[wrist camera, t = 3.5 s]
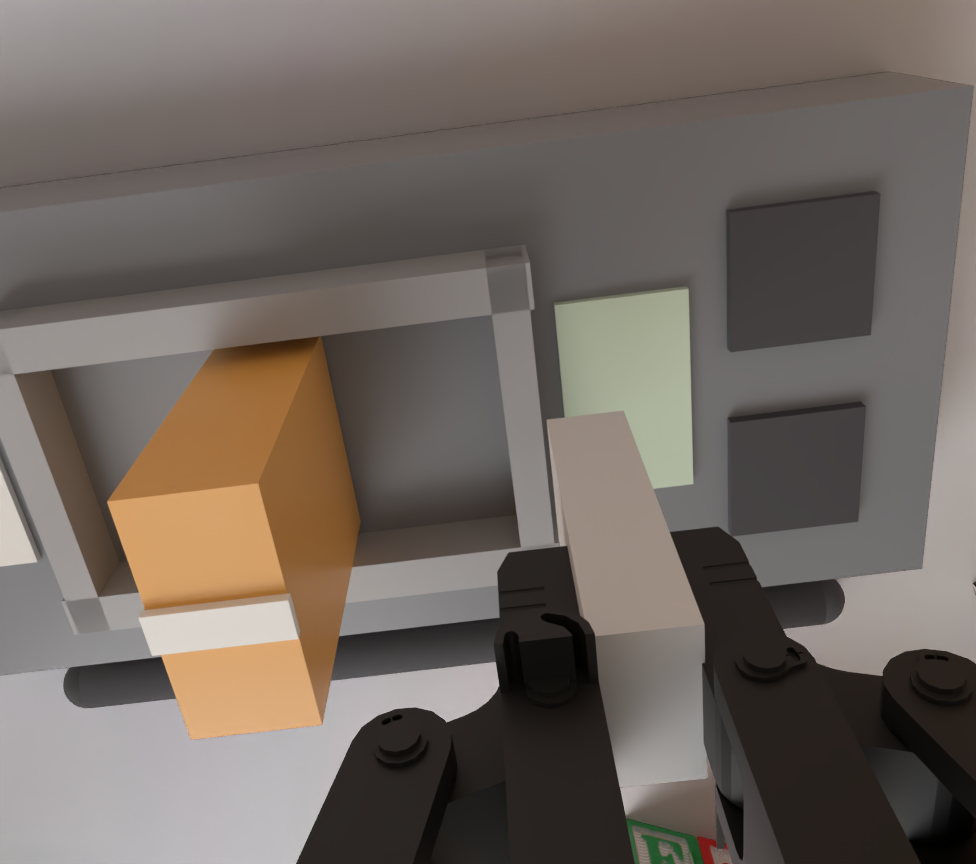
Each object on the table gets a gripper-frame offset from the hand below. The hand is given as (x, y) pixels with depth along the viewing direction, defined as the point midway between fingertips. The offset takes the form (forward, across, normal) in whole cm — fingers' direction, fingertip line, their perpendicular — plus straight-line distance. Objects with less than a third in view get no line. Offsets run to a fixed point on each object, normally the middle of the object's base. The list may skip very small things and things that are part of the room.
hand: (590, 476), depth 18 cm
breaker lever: (+4, -7, 0) cm, 8 cm away
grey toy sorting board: (+8, -4, 0) cm, 9 cm away
